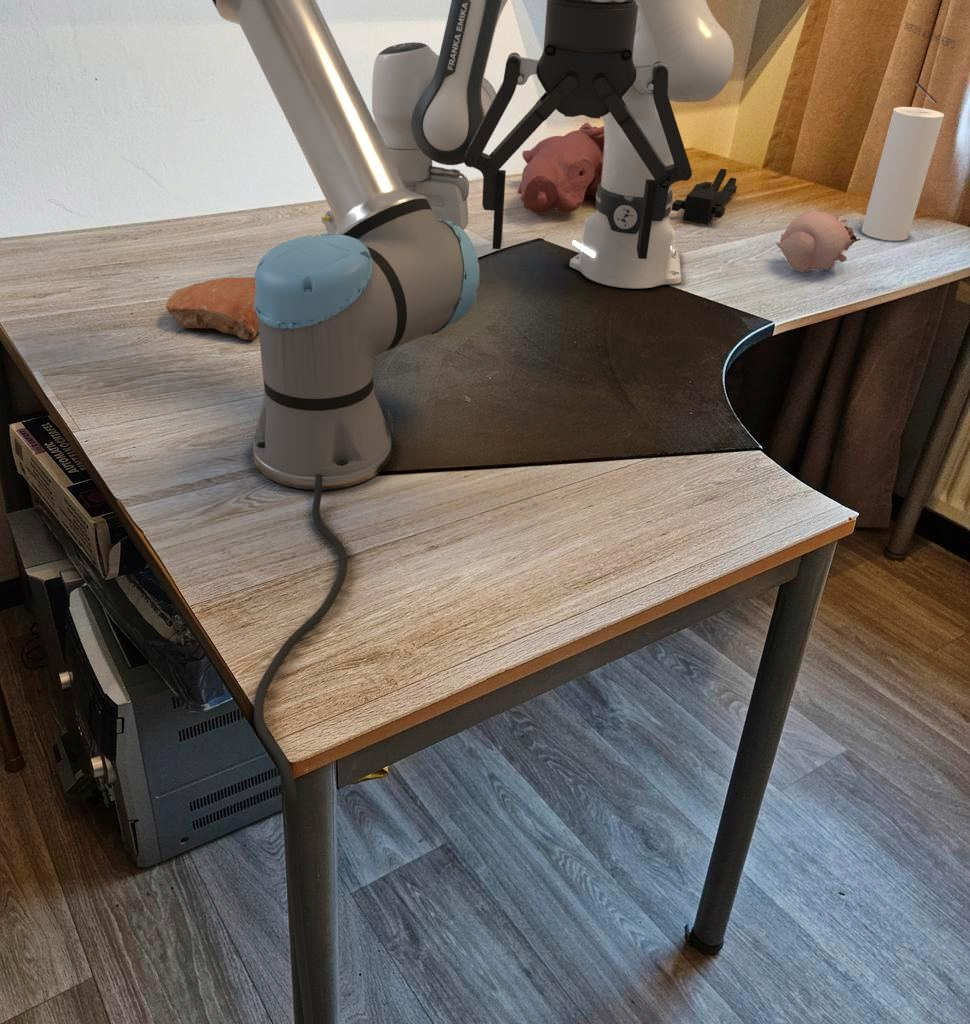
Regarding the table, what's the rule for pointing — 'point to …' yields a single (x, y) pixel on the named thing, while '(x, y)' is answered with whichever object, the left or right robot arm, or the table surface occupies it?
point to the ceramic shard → (217, 306)
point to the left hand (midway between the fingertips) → (569, 249)
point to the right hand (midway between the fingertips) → (403, 253)
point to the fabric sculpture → (563, 170)
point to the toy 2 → (816, 241)
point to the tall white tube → (902, 168)
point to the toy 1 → (706, 200)
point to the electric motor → (330, 222)
